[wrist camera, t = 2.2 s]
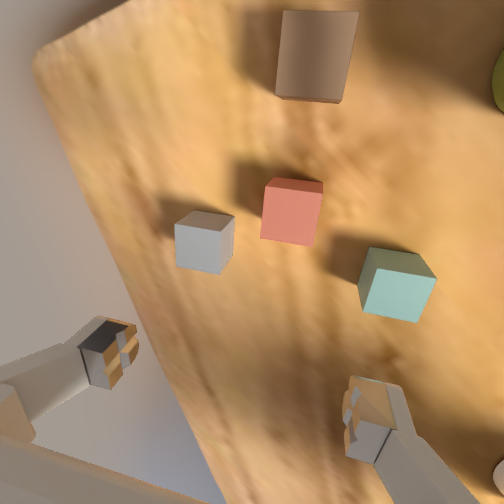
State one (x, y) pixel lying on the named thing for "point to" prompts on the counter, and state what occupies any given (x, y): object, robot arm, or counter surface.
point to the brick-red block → (291, 210)
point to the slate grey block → (204, 241)
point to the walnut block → (315, 55)
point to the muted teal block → (395, 284)
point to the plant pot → (499, 82)
